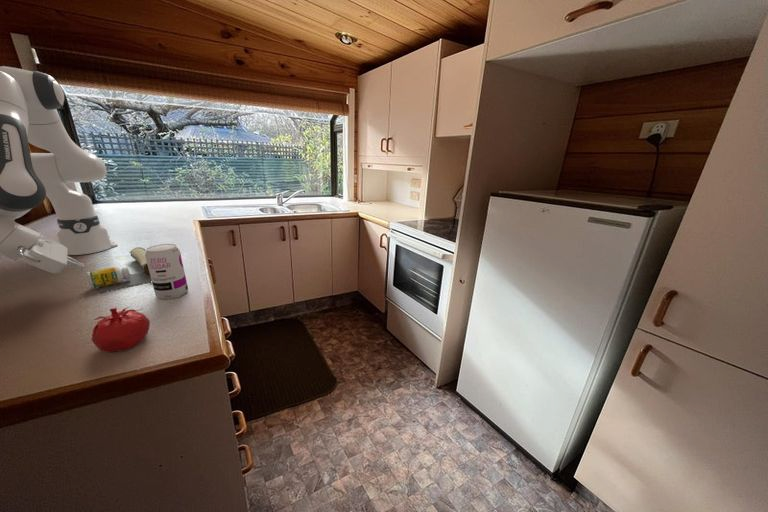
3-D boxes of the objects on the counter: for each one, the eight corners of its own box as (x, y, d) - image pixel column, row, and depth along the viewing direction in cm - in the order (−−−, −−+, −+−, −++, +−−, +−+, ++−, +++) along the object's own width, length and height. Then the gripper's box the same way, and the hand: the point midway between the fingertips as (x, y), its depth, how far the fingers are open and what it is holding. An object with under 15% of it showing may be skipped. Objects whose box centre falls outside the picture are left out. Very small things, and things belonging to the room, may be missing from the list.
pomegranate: (162, 331, 72) (154, 297, 69) (130, 357, 63) (120, 319, 60) (120, 330, 72) (111, 295, 69) (82, 356, 62) (69, 318, 59)
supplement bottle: (91, 285, 93) (130, 277, 99) (91, 291, 89) (132, 283, 95) (86, 269, 91) (126, 263, 97) (86, 275, 87) (128, 267, 94)
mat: (97, 282, 96) (96, 281, 96) (163, 268, 108) (163, 267, 108) (99, 293, 89) (98, 292, 89) (170, 277, 101) (170, 276, 101)
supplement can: (184, 285, 95) (175, 241, 90) (191, 294, 90) (181, 248, 85) (154, 293, 90) (141, 246, 85) (159, 303, 84) (146, 254, 79)
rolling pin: (166, 276, 100) (162, 263, 98) (145, 281, 96) (141, 267, 94) (147, 255, 121) (144, 244, 119) (129, 258, 117) (126, 246, 115)
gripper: (26, 242, 73) (92, 269, 83) (33, 227, 86) (89, 251, 96) (5, 263, 71) (75, 288, 81) (15, 244, 85) (74, 267, 95)
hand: (82, 268), depth 89 cm, fingers closed
